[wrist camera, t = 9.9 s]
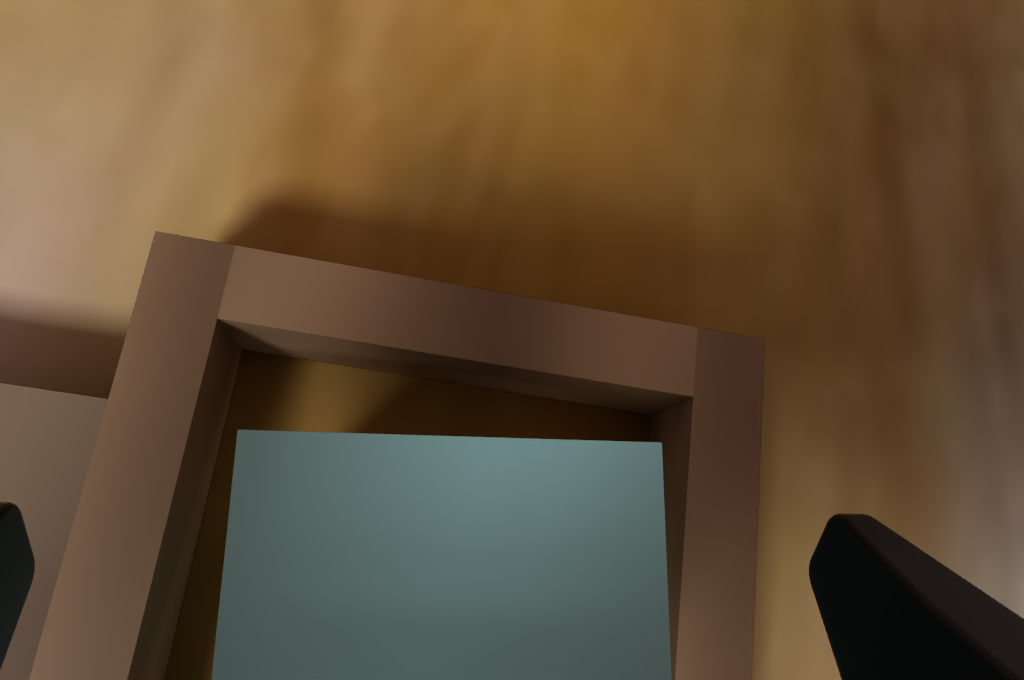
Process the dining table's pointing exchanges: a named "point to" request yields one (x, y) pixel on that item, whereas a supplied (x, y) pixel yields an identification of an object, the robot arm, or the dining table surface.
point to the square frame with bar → (369, 345)
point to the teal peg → (443, 559)
